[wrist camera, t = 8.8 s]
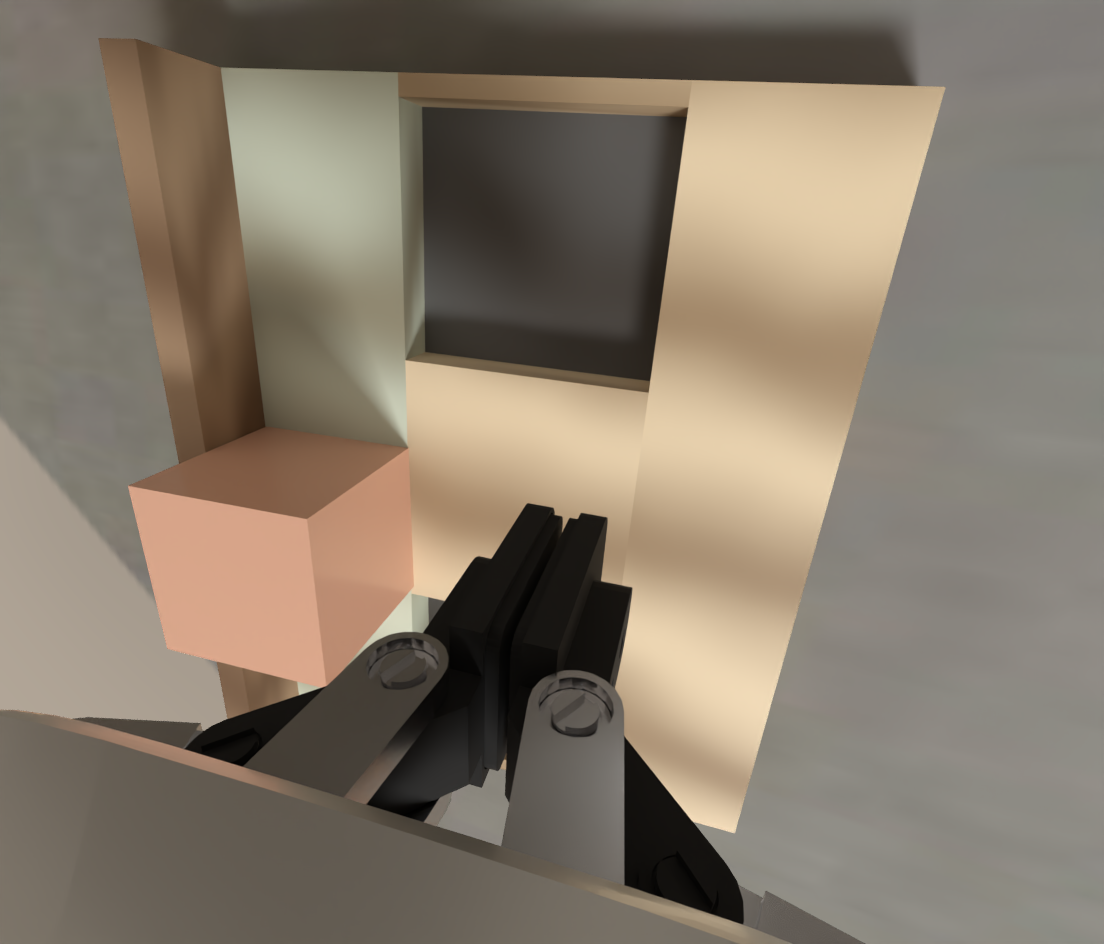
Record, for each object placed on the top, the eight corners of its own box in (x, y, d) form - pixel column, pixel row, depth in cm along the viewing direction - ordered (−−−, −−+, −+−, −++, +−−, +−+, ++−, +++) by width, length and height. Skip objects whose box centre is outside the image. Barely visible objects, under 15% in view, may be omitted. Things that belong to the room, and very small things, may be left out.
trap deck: (229, 79, 17) (98, 38, 13) (921, 102, 13) (999, 52, 10) (302, 682, 25) (235, 756, 22) (733, 796, 22) (737, 907, 18)
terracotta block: (266, 426, 19) (127, 485, 15) (408, 448, 18) (307, 519, 14) (284, 560, 21) (167, 649, 16) (414, 586, 20) (326, 688, 15)
